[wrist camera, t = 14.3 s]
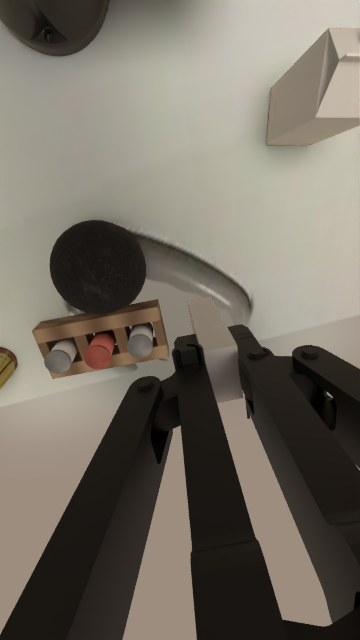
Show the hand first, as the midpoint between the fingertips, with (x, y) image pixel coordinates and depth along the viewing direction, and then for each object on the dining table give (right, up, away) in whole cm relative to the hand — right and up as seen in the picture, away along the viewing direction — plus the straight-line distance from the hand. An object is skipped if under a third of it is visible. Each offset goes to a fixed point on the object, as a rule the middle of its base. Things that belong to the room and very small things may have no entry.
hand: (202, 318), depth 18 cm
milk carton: (+15, +30, +24) cm, 41 cm away
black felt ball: (-13, +11, +30) cm, 35 cm away
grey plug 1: (-22, -5, +35) cm, 41 cm away
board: (-15, -3, +35) cm, 39 cm away
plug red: (-15, -4, +34) cm, 37 cm away
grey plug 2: (-9, -2, +35) cm, 36 cm away
